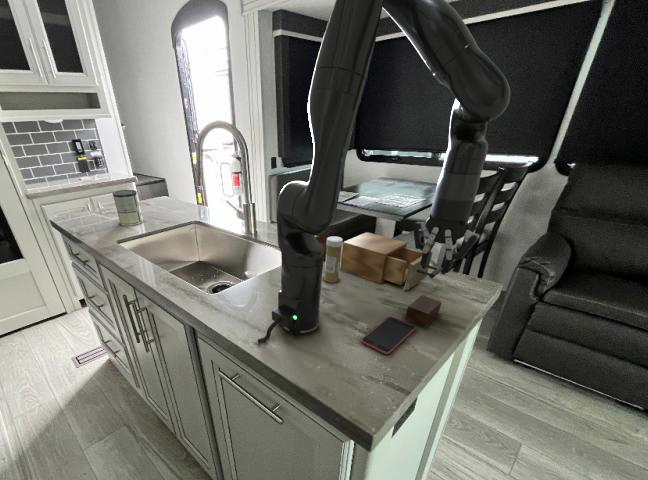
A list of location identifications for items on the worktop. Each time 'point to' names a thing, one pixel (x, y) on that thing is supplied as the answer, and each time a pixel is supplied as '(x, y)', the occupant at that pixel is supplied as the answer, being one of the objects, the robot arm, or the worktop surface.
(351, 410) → the worktop surface
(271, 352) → the worktop surface
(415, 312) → the block
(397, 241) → the cabinet
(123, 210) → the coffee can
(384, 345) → the smartphone
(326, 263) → the sprinkles bottle
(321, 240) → the cup and saucer
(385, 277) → the drawer
